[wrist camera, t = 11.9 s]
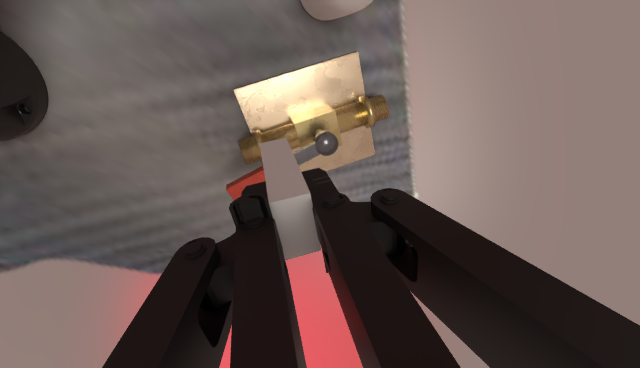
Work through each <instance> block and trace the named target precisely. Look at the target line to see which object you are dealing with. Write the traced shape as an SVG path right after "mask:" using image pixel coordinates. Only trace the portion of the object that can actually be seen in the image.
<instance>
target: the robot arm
mask: <svg viewBox="0 0 640 368" xmlns="http://www.w3.org/2000/svg"><path fill="white" fill-rule="evenodd" d="M47 103H48V97H47V90H46V86H45V83H44V80H43V78H42V76H41V74H40V72H39V70H38V69H37V67H36V66H35V64H34V63H33V61H32V60H31V59H30V58H29V56H28V55H27V54H26V53H25V52H24V51H23V50H22V49H21V48H20V47H19V46H18V45H17V44H16V43H14V42H13V41H12V40H11V39H10V38H8V37H7V36H6V35H4V34H3V33H1V32H0V141H5V140H9V139H12V138H15V137H17V136H20V135H22V134H25V133H27V132H29V131H31V130H32V129H34V128H35V127H36V126H37V125H38V124H39V123H40V122H41V120H42V119H43V117H44V115H45V113H46V109H47ZM260 148H261V155H262V162H263V168H264V175H265V181H264V182H260V183H256V184H252V185H248V186H246V187H245V188H244V189H243V191H242V192H241V197H239V198H237V199H235V200H234V201H233V202H232V203H231V204H230V206H229V210H230V212H231V215H232V218H233V220H234V223H235V226H236V232H235V233H234V234H233V235H231V236H230V237H228V238H226V239H225V240H222V241H220V242H218V243H215V241H214V240H213V239H211V238H203V237H202V238H198V239H194V240H192V241H190V242H188V243H186V244H185V245H183V246H182V247H181V248H180V249H179V250H178V251H177V252H176V253H175V255H174V256H173V258H172V259H171V261H170V262H169V264H168V266H167V267H166V269H165V270H164V272H163V273H162V275H161V276H160V278H159V280H158V281H157V283H156V285H155V286H154V287H153V289H152V291H151V292H150V294H149V295H148V297H147V298H146V300H145V302H144V303H143V305H142V306H141V308H140V309H139V311H138V313H137V314H136V316H135V317H134V319H133V320H132V322H131V323H130V325H129V326H128V328H127V330H126V331H125V333H124V334H123V336H122V338H121V339H120V341H119V342H118V344H117V345H116V347H115V348H114V350H113V352H112V353H111V355H110V356H109V358H108V359H107V361H106V362H105V364H104V366H103V367H102V368H219V366H220V362H221V359H222V356H223V352H224V349H225V346H226V342H227V339H228V335H229V332H230V328H231V325H232V336H231V360H230V361H231V363H230V368H307V367H306V362H305V357H304V352H303V347H302V341H301V336H300V331H299V326H298V321H297V315H296V310H295V305H294V300H293V295H292V290H291V285H290V279H289V274H288V269H287V266H286V262H285V260H288V259H292V258H295V257H299V256H302V255H306V254H309V253H313V252H316V251H320V250H321V248H322V252H323V257H324V262H325V268H326V273H329V275H330V277H331V280H332V283H333V285H334V288H335V291H336V294H337V297H338V299H339V302H340V305H341V308H342V310H343V313H344V316H345V319H346V321H347V324H348V327H349V330H350V332H351V335H352V338H353V341H354V343H355V346H356V349H357V352H358V354H359V357H360V360H361V363H362V366H363V368H460V366H459V365H458V363H457V362H456V360H455V358H454V357H453V355H452V354H451V353H450V351H449V349H448V348H447V346H446V345H445V343H444V342H443V341H442V339H441V337H440V336H439V334H438V333H437V331H436V330H435V328H434V327H433V326H432V324H431V322H430V321H429V319H428V318H427V316H426V315H425V313H424V312H423V310H422V309H421V307H420V306H419V304H418V303H417V301H416V300H415V298H414V297H413V295H412V294H411V292H412V293H413V294H414V295H415V296H416V297H417V298H418V299H419V300H420V301H421V302H422V303H423V304H424V305H425V306H426V307H427V308H428V309H430V311H432V312H433V313H434V314H435V315H436V316H437V317H438V318H439V319H440V320H441V321H442V322H443V323H444V324H445V325H446V326H447V327H448V328H450V330H451V331H453V333H455V334H456V335H457V336H458V337H459V338H460V339H461V340H462V341H463V342H464V343H465V344H466V345H467V346H468V347H469V348H470V349H471V350H472V351H473V352H474V353H475V354H476V355H478V356H479V357H480V358H481V359H482V360H483V361H484V362H485V363H486V364H487V365H488V366H489V367H490V368H640V325H638V324H636V323H634V322H632V321H631V320H629V319H627V318H625V317H624V316H622V315H620V314H618V313H617V312H615V311H613V310H611V309H610V308H608V307H606V306H604V305H603V304H601V303H599V302H597V301H595V300H594V299H592V298H590V297H588V296H587V295H585V294H583V293H581V292H579V291H578V290H576V289H574V288H572V287H571V286H569V285H567V284H565V283H564V282H562V281H560V280H558V279H557V278H555V277H553V276H551V275H550V274H548V273H546V272H544V271H542V270H541V269H539V268H537V267H535V266H534V265H532V264H530V263H528V262H527V261H525V260H523V259H521V258H520V257H518V256H516V255H514V254H513V253H511V252H509V251H507V250H506V249H504V248H502V247H500V246H499V245H497V244H495V243H493V242H492V241H490V240H488V239H486V238H484V237H483V236H481V235H479V234H477V233H476V232H474V231H472V230H470V229H469V228H467V227H465V226H463V225H461V224H460V223H458V222H456V221H454V220H453V219H451V218H449V217H447V216H446V215H444V214H442V213H440V212H439V211H437V210H435V209H433V208H431V207H430V206H428V205H426V204H425V203H423V202H421V201H419V200H417V199H416V198H414V197H412V196H410V195H409V194H407V193H405V192H403V191H401V190H398V189H392V188H388V189H387V188H386V189H382V190H378V191H376V192H375V193H373V194H372V196H371V202H351V201H350V200H349V198H348V197H347V196H346V195H344V194H341V193H339V192H338V190H337V189H336V187H335V186H334V184H333V182H332V181H331V179H330V178H329V176H328V175H327V173H326V171H324V170H322V169H320V168H315V169H311V170H307V171H303V172H301V170H300V168H299V166H298V164H297V161H296V159H295V157H294V154H293V152H292V150H291V148H290V145H289V143H288V141H287V138H283V139H278V140H274V141H269V142H265V143H260ZM320 245H321V246H320ZM410 291H411V292H410Z"/></svg>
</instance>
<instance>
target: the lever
mask: <svg viewBox="0 0 640 368" xmlns="http://www.w3.org/2000/svg"><path fill="white" fill-rule="evenodd" d="M338 145H339V143H338V139H337V137H336V136H335V135H334V134H333V133H332V132H330V131H327V130H323V131H320V132H319V133H317V134H316V136H315V137H314V141H313V142H311V143H309V144H307V145H305V146H304V147H302V148H300V149H298V150H296V151H294V152H293V154H294V157H295V159H296V161H297V164H298V166H299V165H301V164H303V163H305V162H307V161H309V160H311V159H313V158H314V157H316V156H318V155H320V154H321V155H323V156H329V155H332V154H333V153H335V152H336V150H337V149H338ZM264 181H265V175H264V168H263V166H262V167H260V168H258V169H256V170H254V171H252V172H250V173H248V174H246V175H245V176H243V177H241V178H239V179H237V180H235V181H233V182H231V183H229V184H227V186H226V190H227V191H228V193H229V194H230V195H231V197H232V198H233V199H234V200H235V199H237V198H239V197H241V192H242V191H243V189H244V188H245V187H246V186H248V185H252V184H256V183H260V182H264Z"/></svg>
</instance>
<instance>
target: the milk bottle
mask: <svg viewBox="0 0 640 368" xmlns="http://www.w3.org/2000/svg"><path fill="white" fill-rule="evenodd" d="M300 1H301V3H302V5H303V7H304V9H305V10H306V11H307V12H308V13H309V14H310V15H311V16H312V17H314V18H316V19H318V20H322V21H328V20H333V19H337V18H340V17H344V16H347V15H350V14H353V13H355V12H358V11H360V10H362V9H363V8H365V7H366V6H367V5H369V4H370V3H371V2H372V1H373V0H300Z"/></svg>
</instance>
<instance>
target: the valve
mask: <svg viewBox="0 0 640 368" xmlns="http://www.w3.org/2000/svg"><path fill="white" fill-rule="evenodd" d="M234 92H235V95H236V97H237V100H238V102H239V105H240V107H241V110H242V112H243V115H244V117H245V120H246V122H247V125H248V127H249V130H250V132H251V135H252V136H251V137H248V138H245V139H242V140H239V146H240V149H241V152H242V155H243V157H244V159H245V161H246V163H247V164H251V163H254V162H257V161H260V160H262V155H261V148H260V143H265V142H269V141H274V140H278V139H283V138H287V141H288V143H289V145H290V148H291V150H292V152H294V151H296V150H298V149H300V148H302V147H304V146H305V145H307V144H309V143H311V142H313V141H314V137H315V136H316V134H317V133H319V132H320V131H323V130H327V131H330V132H332V133H333V134H334V135H335V136H336V137H337V139H338V143H339V145H338V149H337V150H336V152H335V153H333V154H332V155H329V156H323V155H321V154H320V155H318V156H316V157H314V158H313V159H311V160H309V161H307V162H305V163H303V164H301V165H299V168H300V170H301V172H303V171H307V170H311V169H315V168H320V169H322V170H324V171H328V170H331V169H334V168H337V167H340V166H343V165H346V164H349V163H352V162H355V161H357V160H360V159H363V158H366V157H369V156H372V155H375V151H374V145H373V139H372V133H371V127H374V126H375V123H376V122H377V121H380V120H383V119H386V118H387V117H388V114H389V111H388V105H387V102H386V100H385V98H384V96H383V95H377V96H374V97H371V98H369V97H368V96H366V95H365V91H364V85H363V79H362V73H361V67H360V62H359V56H358V52H352V53H349V54H346V55H343V56H339V57H336V58H333V59H330V60H326V61H323V62H320V63H317V64H313V65H310V66H307V67H304V68H300V69H297V70H294V71H291V72H287V73H284V74H281V75H278V76H274V77H271V78H268V79H265V80H261V81H258V82H255V83H252V84H248V85H245V86H242V87H239V88H236V89H234Z"/></svg>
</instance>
